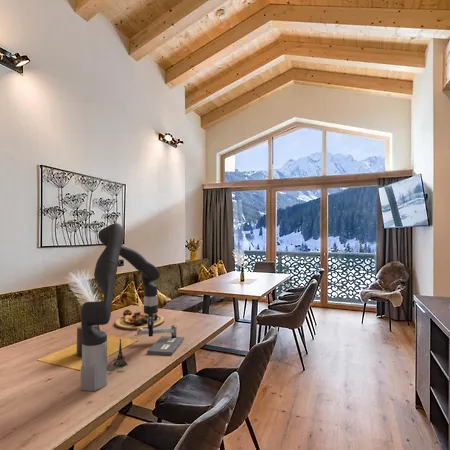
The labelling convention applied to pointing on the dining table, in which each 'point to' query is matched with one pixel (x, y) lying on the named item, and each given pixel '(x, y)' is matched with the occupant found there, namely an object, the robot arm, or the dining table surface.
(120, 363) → the eiffel tower figurine
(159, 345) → the label board
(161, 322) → the wooden plate with food
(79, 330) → the pillar candle
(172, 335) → the swing arm
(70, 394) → the dining table surface
